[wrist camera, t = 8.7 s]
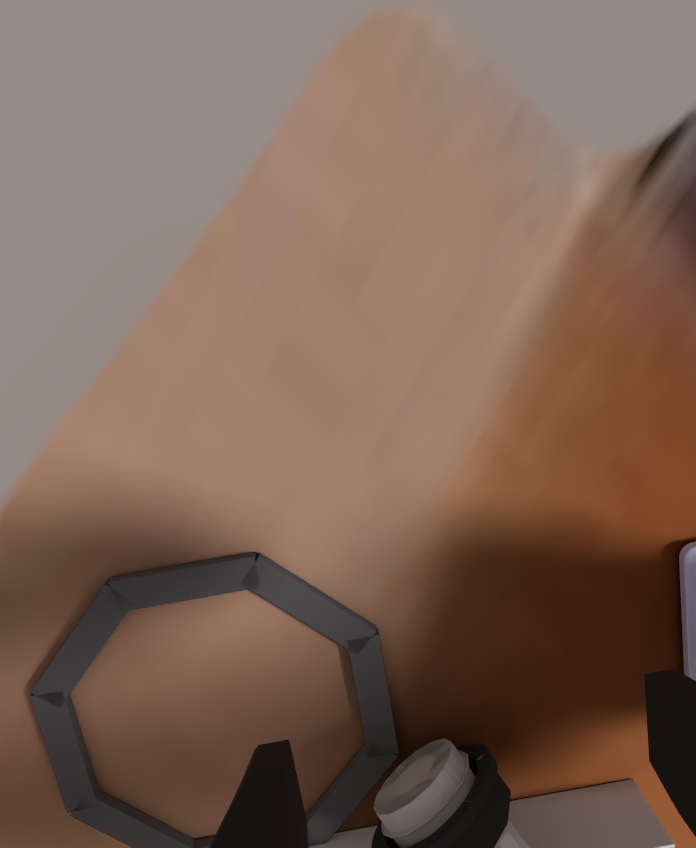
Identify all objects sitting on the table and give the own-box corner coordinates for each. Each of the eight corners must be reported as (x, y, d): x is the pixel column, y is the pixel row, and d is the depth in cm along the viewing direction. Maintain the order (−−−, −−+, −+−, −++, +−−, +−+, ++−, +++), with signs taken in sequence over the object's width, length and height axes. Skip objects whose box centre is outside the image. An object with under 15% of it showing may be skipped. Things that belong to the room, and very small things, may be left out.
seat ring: (361, 533, 22) (362, 537, 22) (411, 825, 25) (412, 833, 25) (4, 595, 22) (-1, 601, 21) (96, 882, 25) (93, 892, 24)
